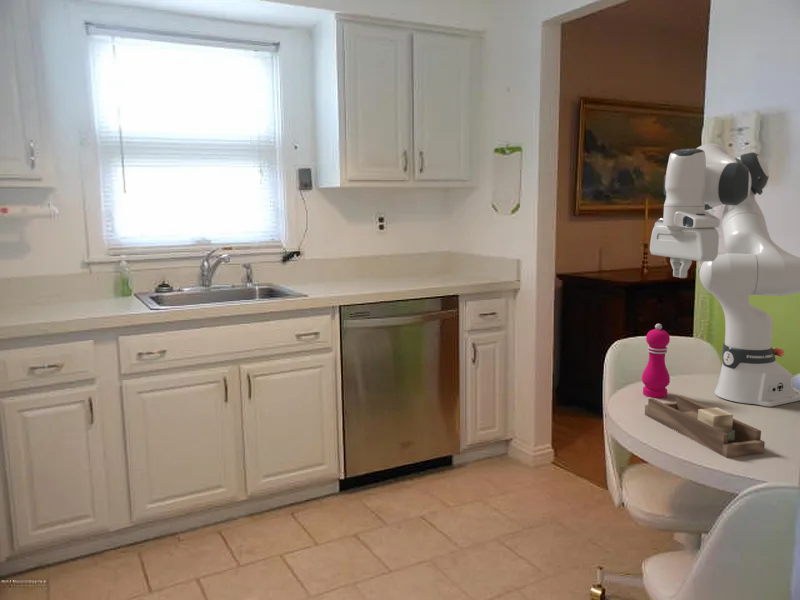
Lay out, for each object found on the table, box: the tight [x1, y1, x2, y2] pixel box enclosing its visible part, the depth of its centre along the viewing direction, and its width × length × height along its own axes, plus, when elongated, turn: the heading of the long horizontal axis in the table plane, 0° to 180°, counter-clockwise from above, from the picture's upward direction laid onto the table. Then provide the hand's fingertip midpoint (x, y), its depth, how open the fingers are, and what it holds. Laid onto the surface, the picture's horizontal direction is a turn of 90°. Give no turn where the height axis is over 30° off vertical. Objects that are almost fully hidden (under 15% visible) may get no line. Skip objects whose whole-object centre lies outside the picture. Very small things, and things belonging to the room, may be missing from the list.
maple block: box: [698, 407, 734, 433], centre depth 146 cm, size 5×5×4 cm
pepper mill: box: [641, 323, 671, 399], centre depth 179 cm, size 7×7×20 cm
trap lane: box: [644, 395, 766, 458], centre depth 151 cm, size 9×28×4 cm, turn 14°
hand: (679, 277), depth 156 cm, fingers closed
